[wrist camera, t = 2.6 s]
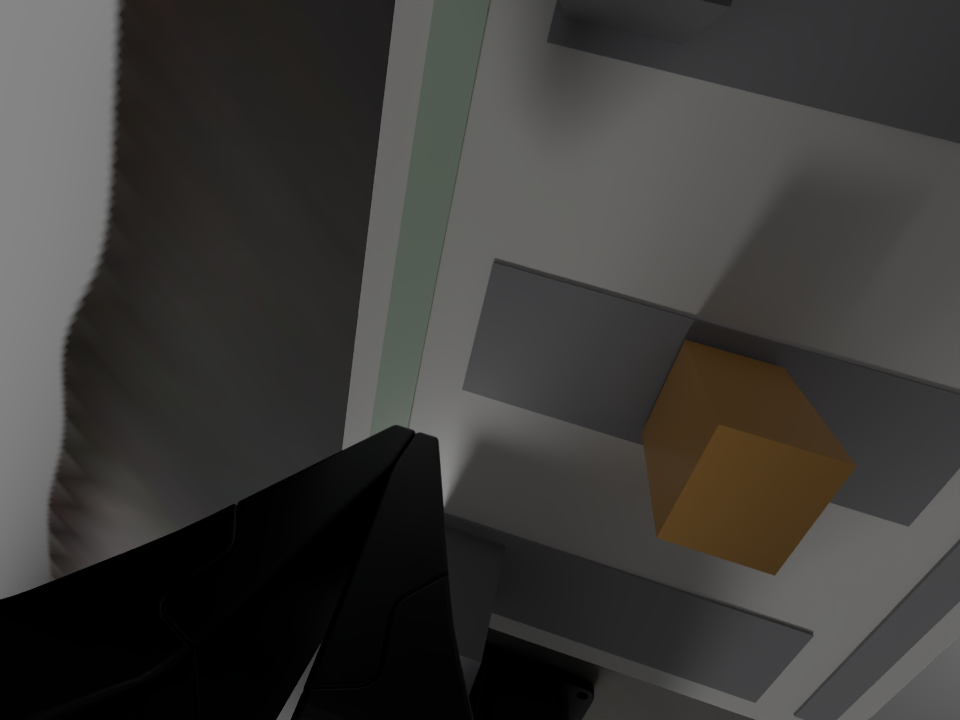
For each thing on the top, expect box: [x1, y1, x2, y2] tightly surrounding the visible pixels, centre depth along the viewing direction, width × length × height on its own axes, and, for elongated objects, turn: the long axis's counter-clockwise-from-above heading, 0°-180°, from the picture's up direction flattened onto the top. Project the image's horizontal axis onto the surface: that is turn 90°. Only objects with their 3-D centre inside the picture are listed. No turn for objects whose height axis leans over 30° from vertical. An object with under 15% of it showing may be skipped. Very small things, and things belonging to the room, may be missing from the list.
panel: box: [342, 0, 960, 720], centre depth 13 cm, size 24×20×6 cm
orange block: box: [642, 340, 857, 576], centre depth 12 cm, size 3×2×4 cm
